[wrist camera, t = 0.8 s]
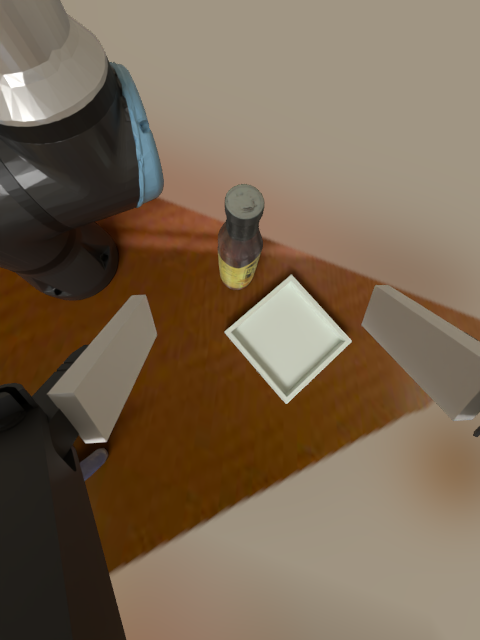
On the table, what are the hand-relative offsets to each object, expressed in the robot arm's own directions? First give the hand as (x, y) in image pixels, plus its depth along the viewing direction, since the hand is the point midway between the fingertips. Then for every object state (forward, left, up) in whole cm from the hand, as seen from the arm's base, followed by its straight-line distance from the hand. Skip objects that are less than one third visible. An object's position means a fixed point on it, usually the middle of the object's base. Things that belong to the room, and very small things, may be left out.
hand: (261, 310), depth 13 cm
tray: (+6, +6, -27) cm, 28 cm away
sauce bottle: (-9, +7, -27) cm, 29 cm away
